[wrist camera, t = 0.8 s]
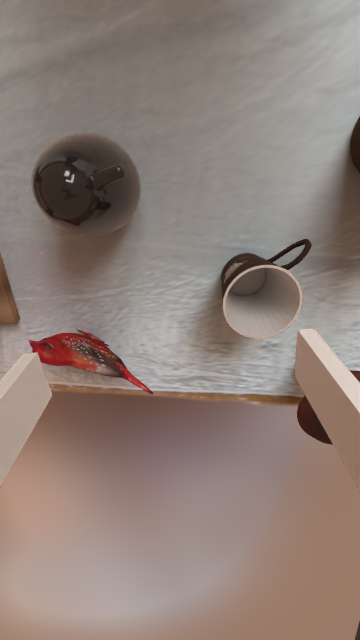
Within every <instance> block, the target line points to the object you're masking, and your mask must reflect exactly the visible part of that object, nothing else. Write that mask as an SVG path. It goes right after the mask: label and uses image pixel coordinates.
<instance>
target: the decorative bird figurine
mask: <svg viewBox="0 0 360 640" xmlns="http://www.w3.org/2000/svg"><path fill="white" fill-rule="evenodd" d="M77 330H78V329H77ZM78 331H79V332H82V333H84V334H85V335H86V336H85V335H81V334H76V333H60V334H56V335H54V336H51V337H49V338H44V339H42V340H41V341H38V342H36V341H31V340H29V342H30V345H31V347H32V348H33V351H32V352H33V353H37V352H38V355H39V358H40V361H41V362H42V363H46V364H50V365H55V366H72V367H76V368H80V369H83V370H87V371H90V372H93V373H97V374H101V375H106V376H112V377H120V378H124V379H126V380H128V381H129V382H131V383H133V384H134V385H136V386H138V387H139V388H141V389H143V390H145V391H146V392H148V393H150V394H153V392H152V391H151V390H150V389H149V388H147V387H146V386H145V385H144V384H143V383H142V382H140V381H139V380H138V379H137V378H135V377H134V376H133V375H132V374H131V373H130V372H129V371H128V369H127V368H126V366H125V365H124V363H123V362H122V360H121V359H120V358H119V357H118V356H116V355H115V354H114V353H113V352H112V351H111V350H110V349H109V348H108V347H106V346H109V345H107V344H104V342H103V341H101V340H99V339H98V338H97V337H95V336H94V335H92V334H90V333H85V332H83V331H80V330H78ZM105 345H106V346H105Z"/></svg>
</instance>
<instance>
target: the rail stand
mask: <svg viewBox="0 0 360 640" xmlns="http://www.w3.org/2000/svg"><path fill="white" fill-rule="evenodd" d="M19 319H20V317H19V314H18V310H17V307H16V304H15V300H14V297H13V294H12V291H11V287H10V284H9V281H8V277H7V274H6V271H5V268H4V264H3V261H2V258H1V254H0V324H9V323H16V322H17V321H18V320H19Z"/></svg>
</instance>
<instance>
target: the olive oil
mask: <svg viewBox="0 0 360 640" xmlns="http://www.w3.org/2000/svg"><path fill="white" fill-rule="evenodd" d="M351 154H352V159H353V162H354V164H355V166H356V168H357V169H358V171H359V172H360V118H359V120H358V121H357V124H356V126H355V128H354V131H353V135H352V140H351Z"/></svg>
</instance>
